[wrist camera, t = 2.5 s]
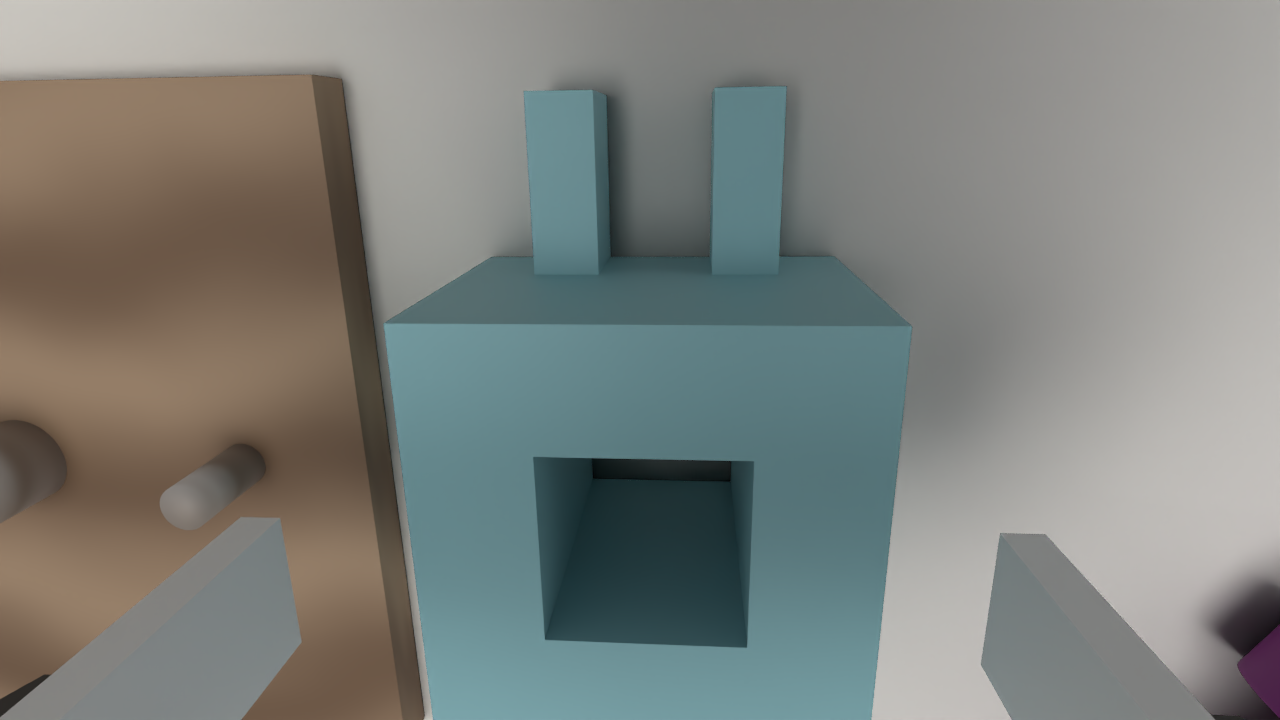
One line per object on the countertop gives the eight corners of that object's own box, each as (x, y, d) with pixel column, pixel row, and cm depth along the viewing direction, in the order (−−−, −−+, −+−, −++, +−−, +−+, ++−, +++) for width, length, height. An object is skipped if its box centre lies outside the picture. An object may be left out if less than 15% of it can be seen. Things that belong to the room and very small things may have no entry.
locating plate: (-369, 93, 20) (-666, 83, 15) (341, 79, 18) (232, 63, 14) (-123, 690, 26) (-287, 803, 21) (424, 716, 24) (365, 843, 20)
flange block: (479, 97, 18) (352, 77, 11) (845, 91, 17) (939, 66, 11) (522, 659, 23) (452, 872, 16) (806, 671, 22) (852, 898, 16)
